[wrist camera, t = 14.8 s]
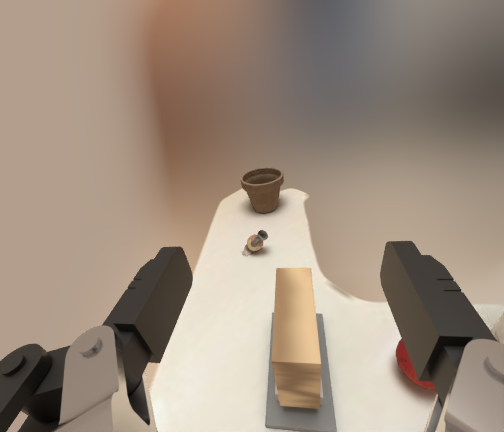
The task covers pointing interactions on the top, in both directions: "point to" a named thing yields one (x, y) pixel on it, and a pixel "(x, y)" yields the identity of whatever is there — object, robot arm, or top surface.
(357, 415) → the top surface
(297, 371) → the brown rectangular block
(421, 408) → the top surface
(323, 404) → the peg stand
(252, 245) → the vase
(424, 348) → the robot arm
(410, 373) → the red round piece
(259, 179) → the flower pot
